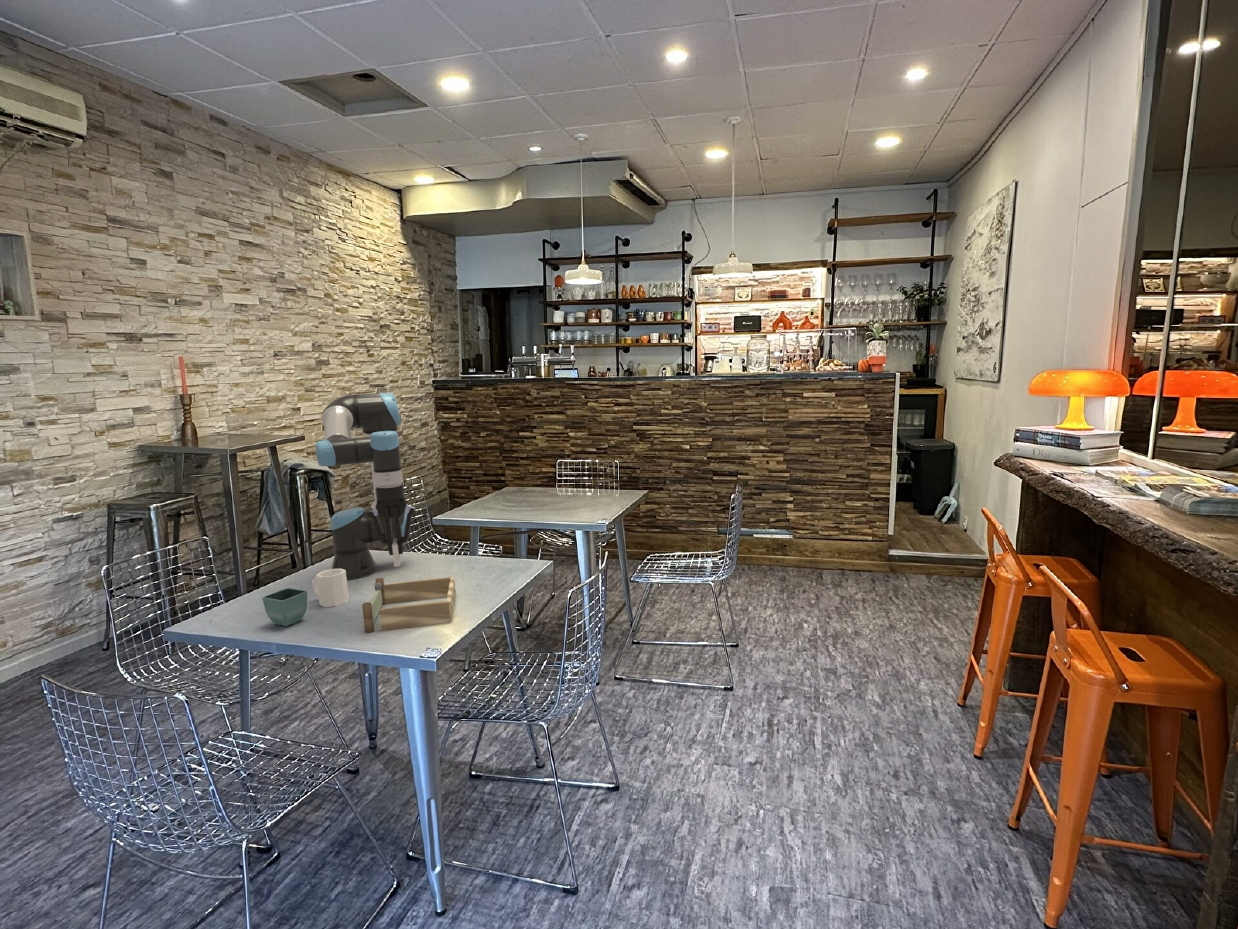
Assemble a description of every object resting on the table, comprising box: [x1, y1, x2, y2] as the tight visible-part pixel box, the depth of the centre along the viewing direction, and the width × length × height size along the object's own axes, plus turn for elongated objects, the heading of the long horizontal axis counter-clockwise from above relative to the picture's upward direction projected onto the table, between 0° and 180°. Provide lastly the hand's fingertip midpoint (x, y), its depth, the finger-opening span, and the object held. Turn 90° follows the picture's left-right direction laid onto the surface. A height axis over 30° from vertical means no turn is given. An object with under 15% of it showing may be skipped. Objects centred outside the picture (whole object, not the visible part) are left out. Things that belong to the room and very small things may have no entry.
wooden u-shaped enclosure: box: [361, 576, 457, 634], centre depth 193 cm, size 24×24×8 cm
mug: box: [310, 568, 350, 608], centre depth 205 cm, size 12×9×10 cm
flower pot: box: [261, 587, 308, 627], centre depth 189 cm, size 9×9×9 cm
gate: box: [369, 582, 383, 623], centre depth 191 cm, size 18×2×7 cm, turn 11°
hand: (397, 565), depth 188 cm, fingers closed
